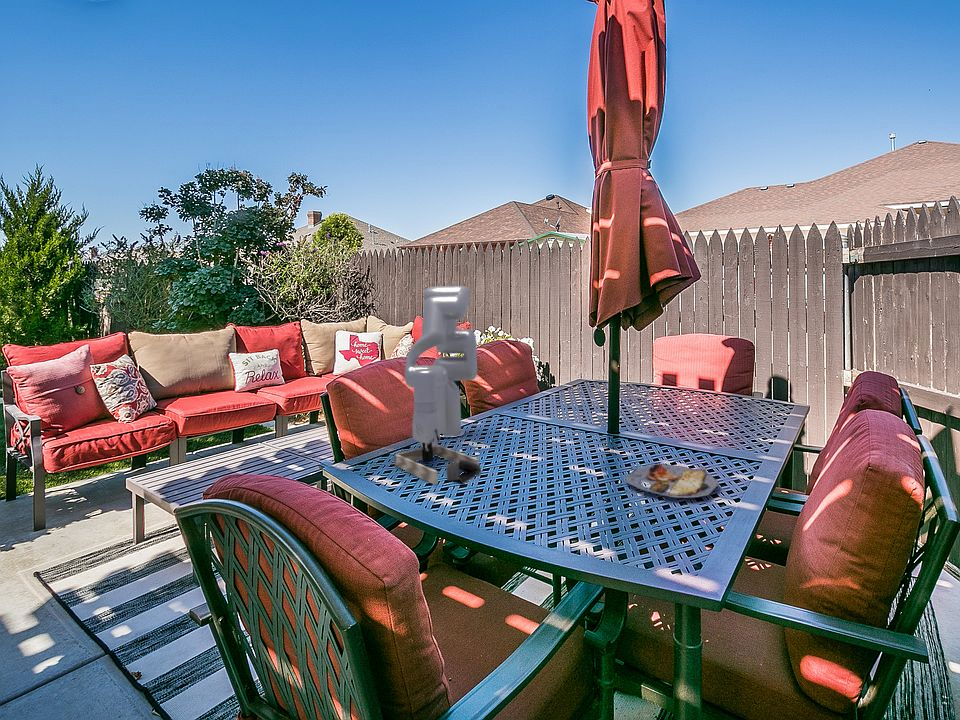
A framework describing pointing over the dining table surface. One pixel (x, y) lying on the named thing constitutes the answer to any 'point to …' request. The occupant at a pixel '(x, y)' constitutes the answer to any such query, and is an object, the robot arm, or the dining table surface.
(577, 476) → the dining table surface
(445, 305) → the robot arm
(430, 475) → the beige u-shaped frame
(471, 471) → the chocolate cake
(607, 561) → the dining table surface
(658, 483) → the food plate
